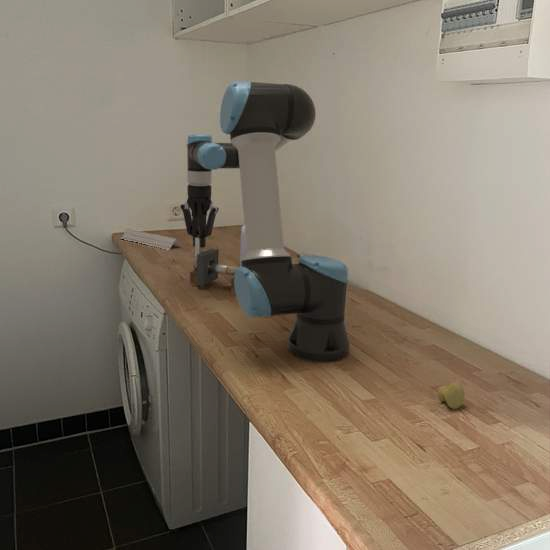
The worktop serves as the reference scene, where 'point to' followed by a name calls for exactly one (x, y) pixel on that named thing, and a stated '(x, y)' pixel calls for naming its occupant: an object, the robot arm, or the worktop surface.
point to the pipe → (219, 268)
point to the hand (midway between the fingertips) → (199, 256)
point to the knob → (452, 395)
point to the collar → (206, 266)
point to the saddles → (194, 284)
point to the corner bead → (150, 239)
